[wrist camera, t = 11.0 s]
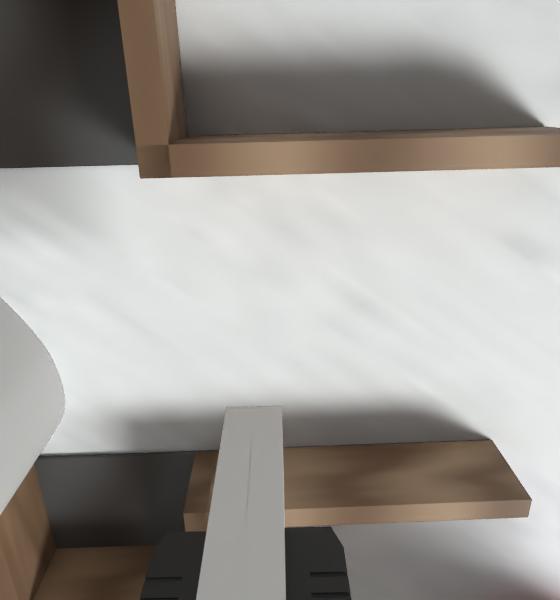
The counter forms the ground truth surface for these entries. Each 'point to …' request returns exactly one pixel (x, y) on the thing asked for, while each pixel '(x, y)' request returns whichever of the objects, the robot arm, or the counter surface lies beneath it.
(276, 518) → the robot arm
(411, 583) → the counter surface
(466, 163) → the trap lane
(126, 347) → the counter surface
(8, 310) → the lumpy-topped squat cylinder
